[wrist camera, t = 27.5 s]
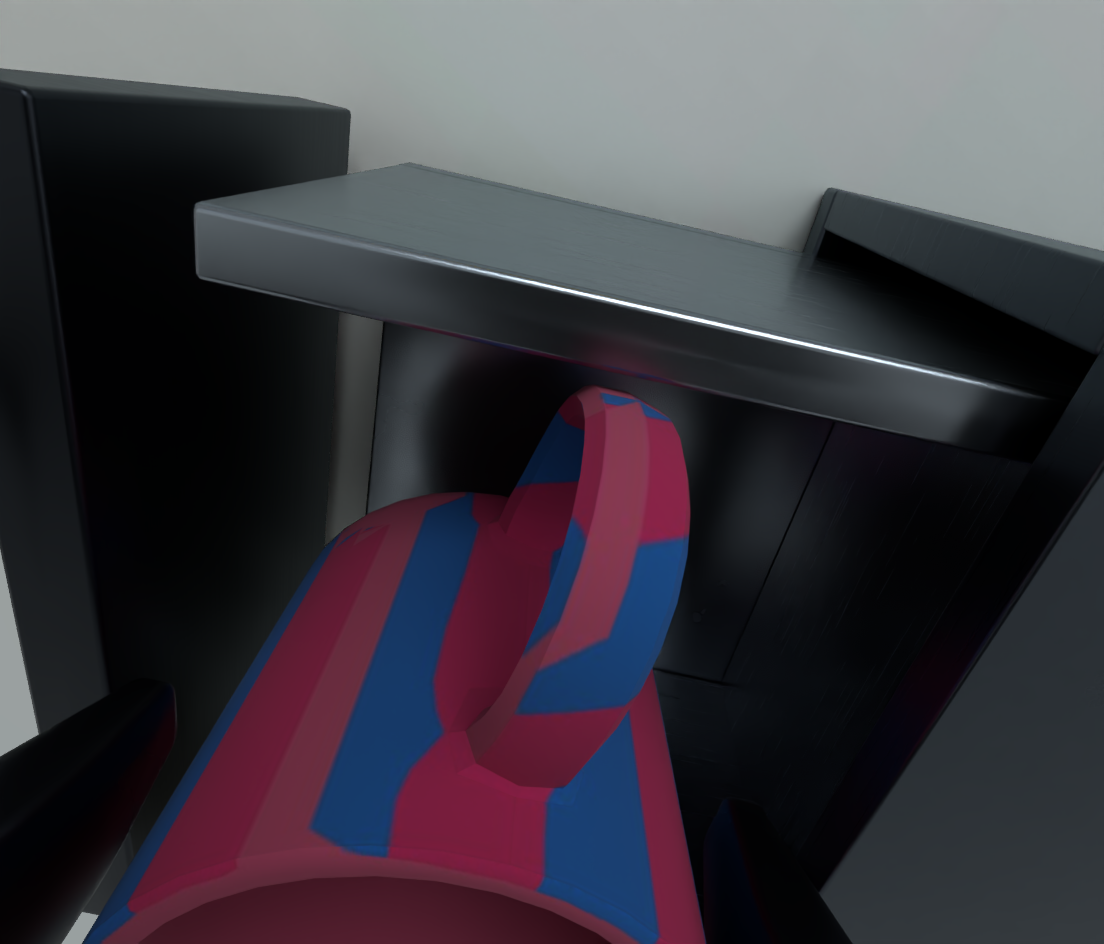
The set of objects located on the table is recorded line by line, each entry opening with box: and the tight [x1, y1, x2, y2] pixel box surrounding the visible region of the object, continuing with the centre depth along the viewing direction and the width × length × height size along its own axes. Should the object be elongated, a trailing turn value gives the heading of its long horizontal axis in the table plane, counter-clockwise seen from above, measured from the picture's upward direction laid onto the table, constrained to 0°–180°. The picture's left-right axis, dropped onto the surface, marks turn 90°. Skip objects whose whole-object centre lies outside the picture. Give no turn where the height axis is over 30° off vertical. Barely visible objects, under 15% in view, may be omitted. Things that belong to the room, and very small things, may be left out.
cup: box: [82, 385, 707, 944], centre depth 9 cm, size 7×10×7 cm
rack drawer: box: [0, 68, 1092, 928], centre depth 13 cm, size 18×13×9 cm
